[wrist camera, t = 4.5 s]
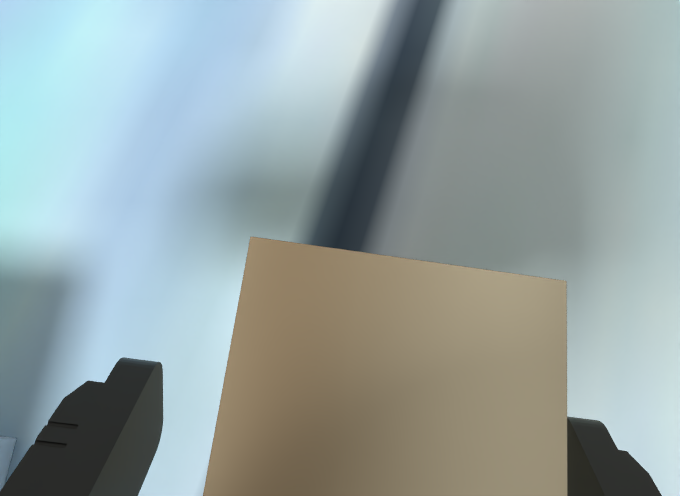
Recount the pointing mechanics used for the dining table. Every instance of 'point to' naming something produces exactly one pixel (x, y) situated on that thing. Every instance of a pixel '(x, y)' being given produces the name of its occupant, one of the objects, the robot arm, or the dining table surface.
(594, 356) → the dining table surface
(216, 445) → the oak block
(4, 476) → the blue base block
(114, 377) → the robot arm
